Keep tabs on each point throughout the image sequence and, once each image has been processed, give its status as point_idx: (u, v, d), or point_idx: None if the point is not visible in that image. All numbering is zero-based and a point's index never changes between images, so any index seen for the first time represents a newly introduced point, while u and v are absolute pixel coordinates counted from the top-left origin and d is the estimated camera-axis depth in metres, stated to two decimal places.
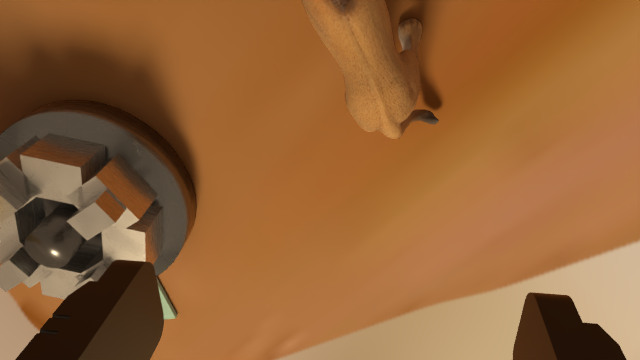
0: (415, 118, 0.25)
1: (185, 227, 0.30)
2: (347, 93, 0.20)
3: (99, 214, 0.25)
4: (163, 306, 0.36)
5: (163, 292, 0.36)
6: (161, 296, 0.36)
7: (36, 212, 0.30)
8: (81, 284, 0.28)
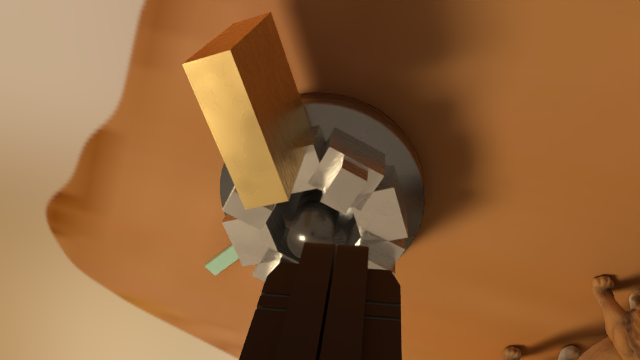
0: None
1: None
2: None
3: None
4: (221, 263, 0.36)
5: (237, 258, 0.35)
6: (233, 259, 0.35)
7: None
8: None
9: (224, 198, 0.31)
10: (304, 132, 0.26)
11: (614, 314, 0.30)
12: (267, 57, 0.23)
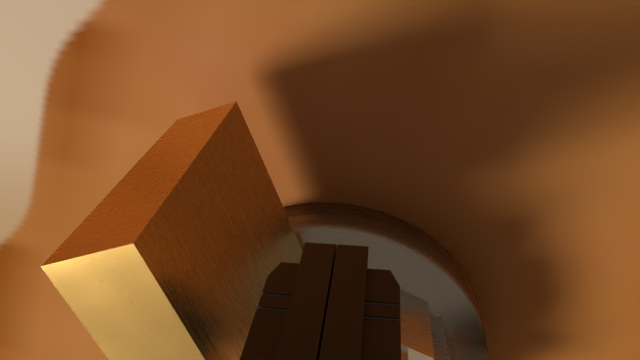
0: None
1: None
2: None
3: None
4: None
5: None
6: None
7: None
8: None
9: None
10: None
11: None
12: (228, 195, 0.13)
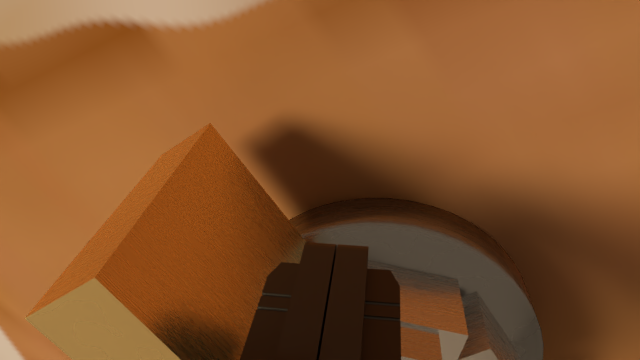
0: None
1: None
2: None
3: None
4: None
5: None
6: None
7: None
8: None
9: None
10: None
11: None
12: (210, 214, 0.13)
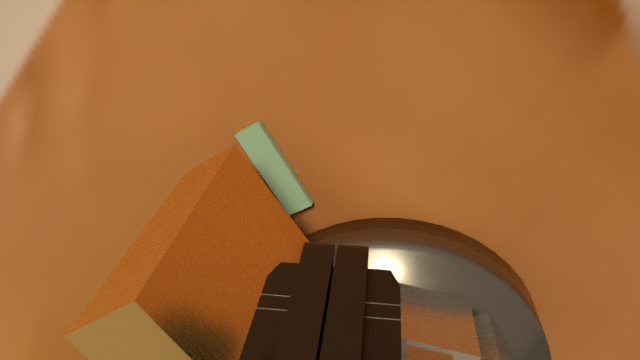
0: None
1: None
2: None
3: None
4: (263, 158, 0.18)
5: None
6: (271, 182, 0.18)
7: None
8: None
9: (430, 261, 0.17)
10: None
11: None
12: (236, 235, 0.13)
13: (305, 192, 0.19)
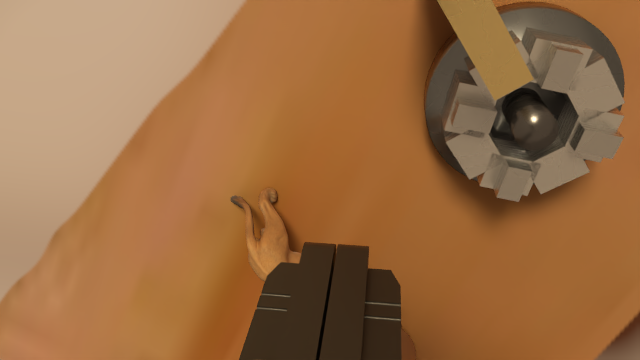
0: (244, 209, 0.40)
1: (425, 111, 0.34)
2: None
3: (612, 145, 0.29)
4: None
5: None
6: None
7: None
8: (517, 169, 0.31)
9: (556, 14, 0.30)
10: None
11: None
12: None
13: None
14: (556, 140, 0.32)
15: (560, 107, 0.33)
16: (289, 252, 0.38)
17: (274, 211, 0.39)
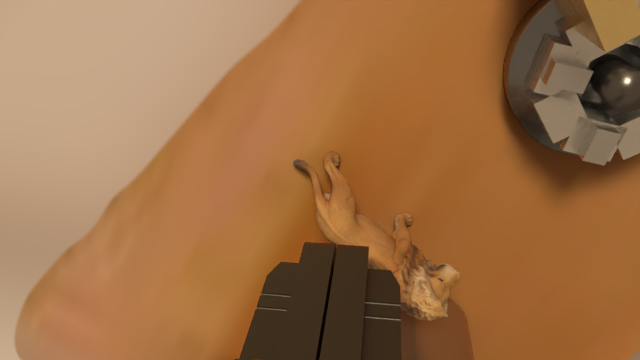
0: (308, 172, 0.40)
1: (508, 77, 0.34)
2: (353, 223, 0.36)
3: None
4: None
5: None
6: None
7: None
8: (606, 132, 0.31)
9: None
10: None
11: (408, 236, 0.40)
12: None
13: None
14: None
15: None
16: (356, 213, 0.38)
17: (340, 173, 0.39)
